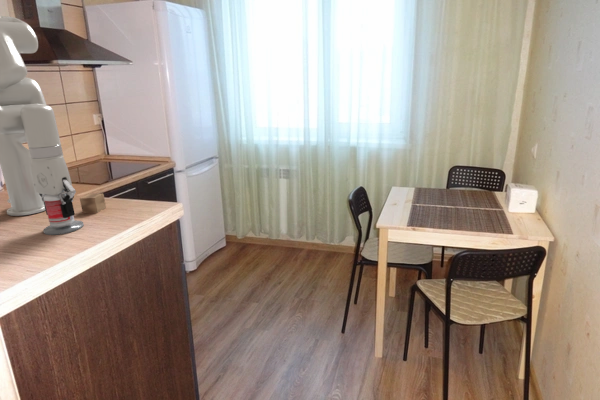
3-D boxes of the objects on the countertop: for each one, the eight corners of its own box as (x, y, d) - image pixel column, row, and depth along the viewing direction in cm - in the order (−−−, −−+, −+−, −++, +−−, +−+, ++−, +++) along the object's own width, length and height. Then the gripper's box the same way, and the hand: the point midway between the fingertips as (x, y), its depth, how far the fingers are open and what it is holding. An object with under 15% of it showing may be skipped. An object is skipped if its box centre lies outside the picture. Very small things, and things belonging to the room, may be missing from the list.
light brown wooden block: (82, 213, 128) (79, 198, 127) (91, 208, 133) (88, 193, 132) (97, 213, 128) (94, 198, 127) (106, 208, 133) (103, 193, 131)
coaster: (35, 232, 113) (35, 230, 113) (68, 220, 122) (68, 218, 121) (59, 237, 109) (58, 234, 109) (91, 224, 117) (90, 222, 117)
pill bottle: (75, 224, 114) (67, 186, 111) (50, 229, 111) (41, 190, 107) (73, 218, 119) (65, 182, 116) (49, 222, 116) (40, 185, 112)
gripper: (12, 153, 109) (28, 216, 114) (54, 156, 102) (69, 223, 107) (39, 148, 116) (53, 208, 121) (80, 151, 108) (93, 214, 114)
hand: (60, 214), depth 114 cm, fingers closed on pill bottle, 6 cm apart
